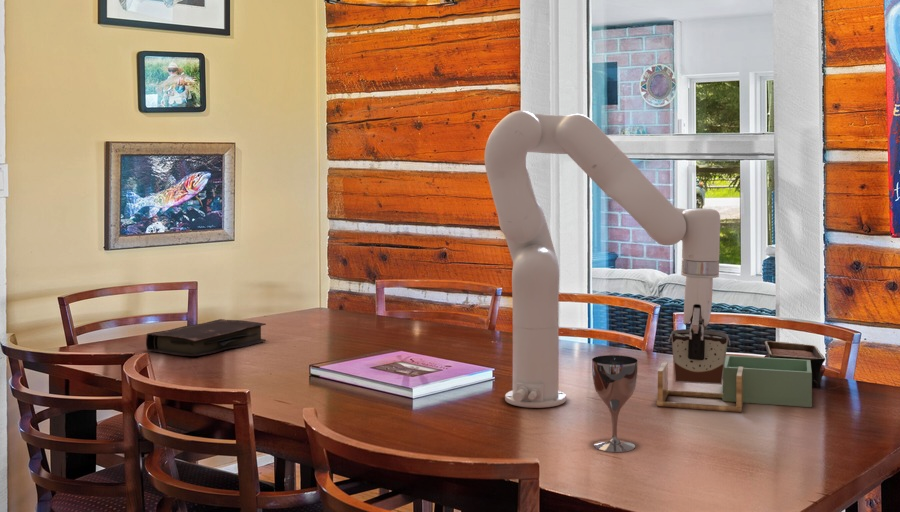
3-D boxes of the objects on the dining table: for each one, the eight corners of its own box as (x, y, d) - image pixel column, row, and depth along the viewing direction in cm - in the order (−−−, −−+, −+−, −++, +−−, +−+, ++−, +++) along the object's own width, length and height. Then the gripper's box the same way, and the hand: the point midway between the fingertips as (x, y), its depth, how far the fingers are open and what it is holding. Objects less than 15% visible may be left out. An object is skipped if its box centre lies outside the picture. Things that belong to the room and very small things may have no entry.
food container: (725, 378, 201) (726, 330, 201) (729, 384, 194) (730, 335, 195) (665, 375, 202) (667, 327, 202) (667, 381, 196) (668, 332, 196)
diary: (145, 351, 248) (145, 331, 249) (218, 335, 270) (218, 317, 270) (196, 359, 239) (196, 338, 239) (268, 342, 261) (268, 323, 261)
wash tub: (811, 407, 195) (811, 372, 195) (722, 401, 199) (722, 367, 199) (810, 392, 207) (810, 359, 207) (726, 387, 212) (726, 355, 212)
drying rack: (741, 412, 190) (741, 377, 190) (656, 406, 195) (657, 371, 195) (743, 399, 201) (743, 365, 201) (663, 393, 206) (663, 360, 206)
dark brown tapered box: (825, 383, 223) (821, 339, 225) (828, 389, 206) (824, 341, 208) (761, 384, 227) (757, 341, 229) (759, 390, 210) (756, 343, 212)
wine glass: (633, 438, 173) (633, 355, 173) (641, 452, 165) (641, 364, 165) (589, 439, 172) (589, 355, 172) (594, 453, 164) (594, 365, 164)
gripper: (685, 263, 207) (683, 346, 207) (677, 272, 191) (674, 362, 191) (721, 265, 205) (719, 349, 205) (715, 274, 189) (713, 366, 189)
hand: (697, 355), depth 198 cm, fingers closed on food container, 6 cm apart
